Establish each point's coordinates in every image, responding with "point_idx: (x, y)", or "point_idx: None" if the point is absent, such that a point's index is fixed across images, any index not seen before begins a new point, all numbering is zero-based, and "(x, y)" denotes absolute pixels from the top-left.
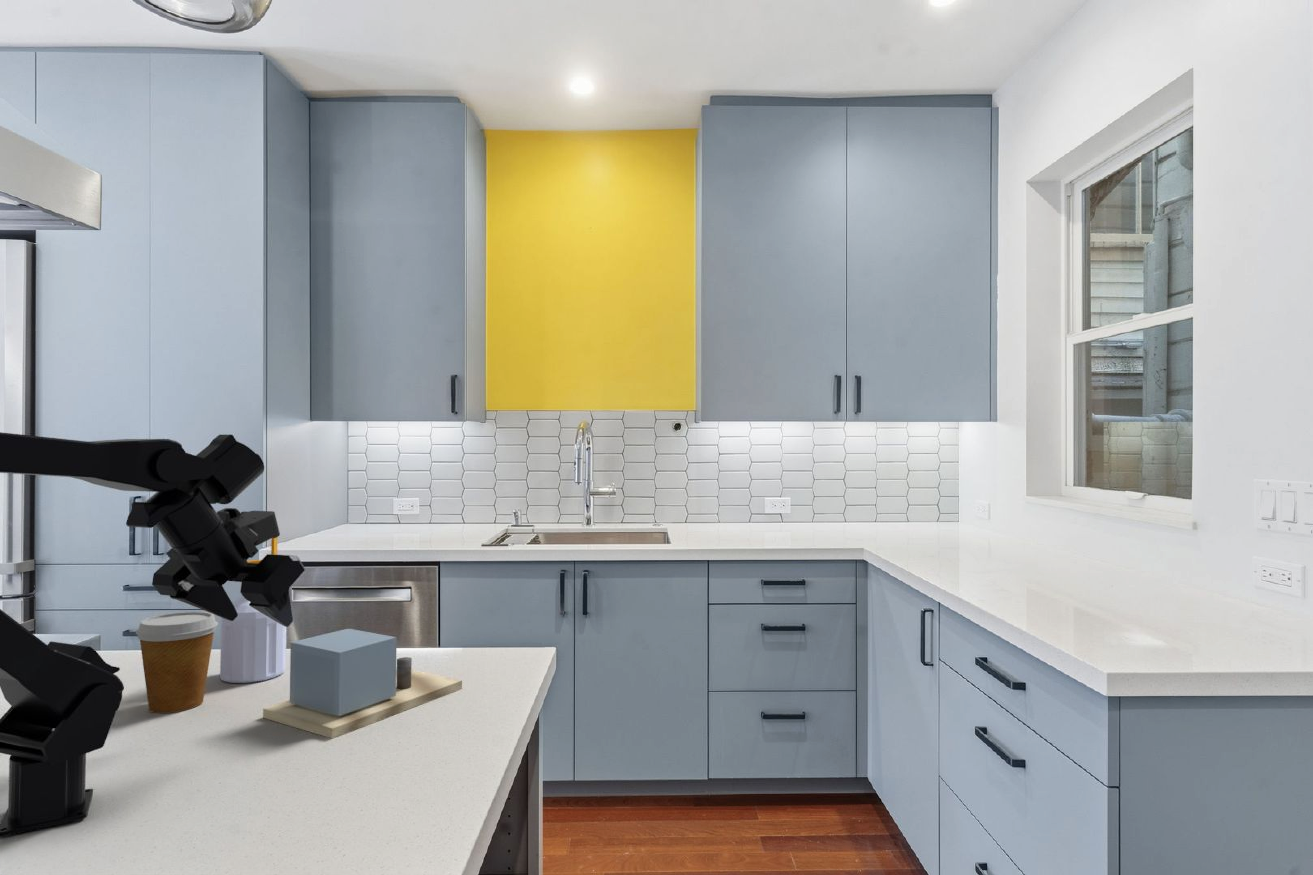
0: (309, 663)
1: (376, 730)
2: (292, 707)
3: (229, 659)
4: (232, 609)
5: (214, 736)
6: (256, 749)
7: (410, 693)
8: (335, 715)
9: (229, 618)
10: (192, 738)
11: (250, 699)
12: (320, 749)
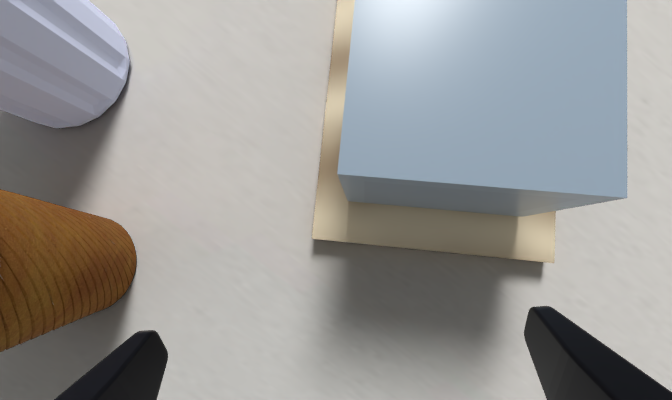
0: (435, 192)
1: None
2: (364, 208)
3: (22, 106)
4: (131, 382)
5: (317, 350)
6: (454, 365)
7: None
8: None
9: (160, 382)
10: (287, 376)
11: (197, 175)
12: (570, 313)
